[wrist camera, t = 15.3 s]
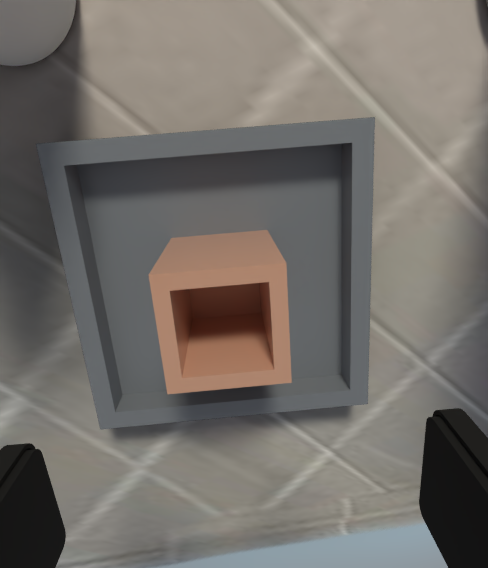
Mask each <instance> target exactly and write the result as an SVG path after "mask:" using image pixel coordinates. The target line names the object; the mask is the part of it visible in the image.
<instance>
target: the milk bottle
mask: <svg viewBox="0 0 488 568" xmlns="http://www.w3.org/2000/svg"><path fill="white" fill-rule="evenodd" d="M75 6H76V0H0V65H6V66H23V65H28V64H32V63H35V62H38V61H40V60H42V59H44V58H45V57H47V56H48V55H50V54H51V53H52V52H54V51H55V50H56V49H57V48H58V47H59V45H60V44H61V43H62V42H63V40H64V39H65V37H66V35H67V33H68V31H69V29H70V27H71V24H72V21H73V17H74V13H75Z"/></svg>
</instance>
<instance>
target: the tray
mask: <svg viewBox="0 0 488 568" xmlns="http://www.w3.org/2000/svg"><path fill="white" fill-rule="evenodd" d="M374 129H375V117H370V118H357V119H345V120H332V121H319V122H306V123H294V124H281V125H268V126H255V127H243V128H230V129H217V130H204V131H192V132H179V133H166V134H154V135H141V136H128V137H115V138H103V139H90V140H77V141H64V142H52V143H39V144H36V146H37V151H38V155H39V160H40V164H41V169H42V173H43V178H44V182H45V186H46V191H47V195H48V200H49V204H50V209H51V213H52V217H53V222H54V226H55V231H56V235H57V240H58V244H59V248H60V253H61V257H62V262H63V266H64V271H65V275H66V279H67V284H68V288H69V293H70V297H71V302H72V306H73V310H74V315H75V319H76V324H77V328H78V333H79V337H80V341H81V346H82V350H83V355H84V359H85V364H86V368H87V372H88V377H89V381H90V386H91V390H92V395H93V399H94V403H95V408H96V412H97V417H98V421H99V426H100V429H110V428H121V427H131V426H142V425H152V424H163V423H173V422H184V421H194V420H205V419H215V418H226V417H236V416H247V415H257V414H268V413H278V412H289V411H299V410H310V409H320V408H331V407H341V406H352V405H362V404H368V372H369V332H370V291H371V250H372V210H373V169H374ZM260 230H268V232H269V234H270V235H271V237H272V239H273V241H274V242H275V244H276V246H277V248H278V249H279V251H280V253H281V255H282V256H283V258H284V260H285V261H286V266H287V288H288V310H289V333H290V355H291V378H292V383H283V384H273V385H262V386H251V387H241V388H230V389H219V390H209V391H198V392H187V393H177V394H167V389H166V382H165V376H164V370H163V363H162V357H161V351H160V344H159V338H158V332H157V325H156V319H155V313H154V306H153V300H152V294H151V287H150V281H149V273H150V272H151V270H152V269H153V267H154V265H155V264H156V262H157V260H158V259H159V257H160V256H161V254H162V252H163V251H164V249H165V248H166V246H167V244H168V243H169V241H170V239H171V238H177V237H189V236H201V235H212V234H224V233H236V232H248V231H260Z"/></svg>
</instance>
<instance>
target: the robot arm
mask: <svg viewBox="0 0 488 568" xmlns="http://www.w3.org/2000/svg"><path fill="white" fill-rule="evenodd" d="M486 1H487V6H488V0H486ZM419 505H420V510H421V514H422V517H423V519H424V521H425V523H426V525H427V527H428V529H429V530H430V533H431V535H432V536H433V538H434V540H435V542H436V544H437V546H438V548H439V550H440V552H441V554H442V556H443V558H444V560H445V562H446V564H447V566H448V568H488V438H487V437H486V436H485V434H484V433H483V432H482V431H481V430H480V429H479V428H478V426H477V425H476V424H475V423H474V422H473V421H472V420H471V418H470V417H469V416H468V415H467V414H466V413H465V412H464V411H463V410H462V409H459V408H458V409H445V410H436V411H435V412H434V413H433V417H429V418H428V419H427V422H426V432H425V443H424V454H423V465H422V476H421V487H420V498H419ZM65 537H66V534H65V528H64V525H63V521H62V518H61V515H60V511H59V508H58V505H57V501H56V498H55V495H54V491H53V488H52V485H51V481H50V478H49V475H48V471H47V468H46V465H45V461H44V458H43V455H42V452H41V451H40V450H39V449H35V447H34V446H33V445H32V444H17V445H6V446H4V447H3V448H2V449H1V450H0V568H55V567H56V564H57V562H58V560H59V557H60V555H61V552H62V550H63V547H64V544H65Z"/></svg>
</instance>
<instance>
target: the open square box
mask: <svg viewBox="0 0 488 568" xmlns="http://www.w3.org/2000/svg"><path fill="white" fill-rule="evenodd" d="M149 281H150V287H151V294H152V300H153V306H154V313H155V319H156V325H157V332H158V338H159V344H160V351H161V357H162V363H163V370H164V376H165V382H166V389H167V394H177V393H187V392H198V391H209V390H219V389H230V388H241V387H251V386H262V385H273V384H283V383H292V378H291V355H290V333H289V310H288V288H287V266H286V261H285V260H284V258H283V256H282V255H281V253H280V251H279V249H278V248H277V246H276V244H275V242H274V241H273V239H272V237H271V235H270V234H269V232H268V230H260V231H248V232H236V233H224V234H212V235H201V236H189V237H177V238H171V239H170V241H169V243H168V244H167V246H166V248H165V249H164V251H163V252H162V254H161V256H160V257H159V259H158V260H157V262H156V264H155V265H154V267H153V269H152V270H151V272H150V273H149Z"/></svg>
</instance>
